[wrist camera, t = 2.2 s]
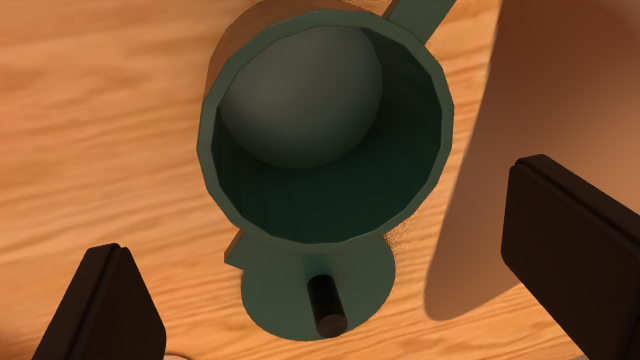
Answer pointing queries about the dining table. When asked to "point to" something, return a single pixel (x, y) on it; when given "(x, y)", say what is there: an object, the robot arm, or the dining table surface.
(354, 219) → the pot
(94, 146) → the dining table surface
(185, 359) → the can
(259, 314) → the lid
